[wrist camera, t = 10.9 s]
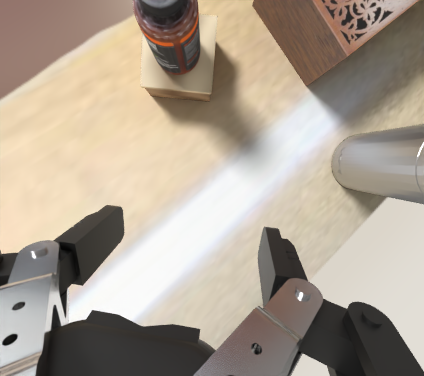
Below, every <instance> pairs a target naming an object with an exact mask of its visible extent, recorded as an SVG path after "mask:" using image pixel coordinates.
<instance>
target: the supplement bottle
mask: <svg viewBox="0 0 424 376" xmlns="http://www.w3.org/2000/svg"><path fill="white" fill-rule="evenodd" d="M133 8H134V14H135V17H136V20H137V22H138V24H139V26H140V28H141V31H142V33H143V35H144V37H145V39H146V41H147V43H148V45H149V47H150V49H151V51H152V53H153V55H154V57H155V59H156V61H157V62H158V64H159V65H160V67H161V68H162V69H164V70H165V71H166V72H168V73H170V74H173V75H182V74H186V73H188V72H190V71H191V70H192V69H193V68H194V67H195V66H196V64H197V63H198V60H199V57H200V30H199V12H198V1H197V0H133Z"/></svg>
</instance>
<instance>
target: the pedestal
mask: <svg viewBox="0 0 424 376" xmlns="http://www.w3.org/2000/svg"><path fill="white" fill-rule="evenodd" d="M217 17H218V16H213V15H204V14H199V30H200V57H199V60H198V63H197V64H196V66H195V67H194V68H193V69H192V70H191V71H190V72H188V73H186V74H182V75H173V74H170V73H168V72H166V71H165V70H164V69H162V68H161V67H160V65H159V64H158V62H157V61H156V59H155V57H154V55H153V53H152V51H151V49H150V47H149V45H148V43H147V41H146V39H145V37H144V35H143V33H142V55H141V84H140V86H141V87H142V88H145V89H146V90H147V91H148V93H149V94H150V95H151V96H157V97H168V98H178V99H189V100H199V101H209V100H210V94H212V83H213V69H214V56H215V43H216V30H217Z"/></svg>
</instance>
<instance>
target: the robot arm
mask: <svg viewBox="0 0 424 376" xmlns="http://www.w3.org/2000/svg"><path fill="white" fill-rule="evenodd" d="M332 172H333V174H334V177H335V178H336V180H337V181H338V182H339V183H340V184H341V185H342V186H344V187H346V188H348V189H352V190H356V191H361V192H366V193H371V194H376V195H381V196H386V197H391V198H396V199H401V200H406V201H411V202H416V203H420V204H424V124H419V125H413V126H407V127H401V128H395V129H388V130H382V131H376V132H370V133H363V134H357V135H353V136H350V137H348V138H347V139H345V140H344V141H343V142H341V143H340V144H339V146H338V147H337V148H336V150H335V152H334V154H333V158H332ZM123 236H124V220H123V210H122V208H121V207H119V206H111V205H106V206H105V207H103V208H102V209H101V210H99V211H98V212H96V213H93V214H91V215H88V216H86V217H85V218H84V219H82V220H81V221H80V222H78V223H77V224H75V225H74V227H71V228H70V229H69V230H67V231H66V232H64V233H63V234H62V235H60V236H59V237H58V238H56V239H55V240H54V241H50V240H47V241H40V242H36V243H33V244H30V245H28V246H26V247H25V248H23V249H22V250H21V251H20V252H19V253H8V254H1V251H0V376H291V375H292V373H293V371H294V369H295V367H296V365H297V363H298V361H299V359H300V357H301V356H302V354H305V355H307V356H309V357H311V358H313V359H315V360H317V361H319V362H321V363H323V364H325V365H327V367H328V371H329V374H330V376H424V371H423V370H422V368H421V367H420V365H419V364H418V362H417V360H416V359H415V357H414V356H413V354H412V353H411V351H410V350H409V348H408V347H407V345H406V344H405V342H404V340H403V339H402V337H401V336H400V334H399V332H398V331H397V329H396V328H395V326H394V325H393V323H392V322H391V321H390V319H389V318H388V317H387V316H386V315H385V314H383V313H382V312H380V311H379V310H377V309H376V308H375V307H373V306H371V305H368V304H365V303H362V302H352V303H351V304H350V305H349V306H348V308H347V309H346V308H343V307H341V306H339V305H336V304H334V303H331V302H329V301H327V300H325V299H323V297H322V294H321V293H320V291H319V290H318V288H317V287H316V286H314V285H313V284H312V283H310V282H308V280H307V277H306V275H305V272H304V270H303V267H302V265H301V262H300V260H299V257H298V254H297V252H296V249H295V247H294V245H293V244H292V243H291V242H290V241H289V240H288V239H282V238H281V235H280V232H279V229H278V228H270V227H264V228H263V232H262V236H261V241H260V246H259V251H258V266H259V274H260V282H261V290H262V298H263V307H264V308H261V307H260V306H257V307H256V308H255V309H254V310H253V311H252V312H251V313H250V314H249V315H248V316H247V317H246V318H245V320H244V321H243V322H242V323H241V324H240V325H239V326H238V327H237V328H236V329H235V331H234V332H233V333H232V334H231V335H230V336H229V337H228V338H227V339H226V340H225V341H224V343H223V344H222V345H221V346H220V347H219V348H218V349H217V350H215V349H213V348H212V347H211V346H210V345H208V344H207V343H205V342H204V341H202V340H200V339H199V335H200V329H197V328H191V327H185V326H180V325H174V324H171V325H158V326H146V327H143V326H140V325H138V324H136V323H134V322H132V321H130V320H128V319H126V318H124V317H122V316H120V315H117V314H112V313H106V312H100V311H94V310H92V312H91V313H90V315H89V316H88V317H87V319H86V320H80V321H75V322H72V323H68V322H69V289H68V287H69V286H70V285H71V284H76V285H82V286H83V285H84V283H85V282H86V281H87V280H88V279H89V278H90V277H91V275H92V274H93V273H94V272H95V271H96V270H97V268H98V267H99V266H100V265H101V264H102V263H103V261H104V260H105V259H106V258H107V257H108V256H109V255H110V253H111V252H112V251H113V250H114V249H115V248H116V246H117V245H118V244H119V243H120V242H121V240H122V238H123Z"/></svg>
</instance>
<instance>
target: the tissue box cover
mask: <svg viewBox="0 0 424 376" xmlns="http://www.w3.org/2000/svg"><path fill="white" fill-rule="evenodd" d="M417 1H419V0H254V2H253V5H252V6H253V7H254V9H255V10H256V12H257V13H258V15H259V16H260V18H261V19H262V21H263V22H264V24H265V25H266V27H267V28H268V30H269V31H270V33H271V34H272V36H273V37H274V39H275V40H276V42H277V43H278V45H279V46H280V48H281V49H282V51H283V52H284V54H285V55H286V57H287V58H288V60H289V61H290V63H291V64H292V66H293V67H294V69H295V70H296V72H297V73H298V75H299V76H300V78H301V79H302V81H303V82H304V84H305V85H306V86H307V85H309V84H310V83H312V82H313V81H314V80H316V79H317V78H319V77H320V76H321V75H323V74H324V73H326V72H327V71H328V70H330V69H331V68H333V67H334V66H335V65H337V64H338V63H340V62H341V61H342V60H344V59H345V58H346V57H348V56H349V55H350V54H352V53H353V52H354V51H355V50H357V49H358V48H359V47H361V46H362V45H363V44H364V43H366V42H367V41H368V40H369V39H371V38H372V37H373V36H374V35H376V34H377V33H378V32H380V31H381V30H382V29H383V28H385V27H386V26H387V25H388V24H390V23H391V22H392V21H393V20H395V19H396V18H397V17H399V16H400V15H401V14H402V13H404V12H405V11H406V10H407V9H409V8H410V7H411V6H412V5H414V4H415V3H416V2H417Z"/></svg>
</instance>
